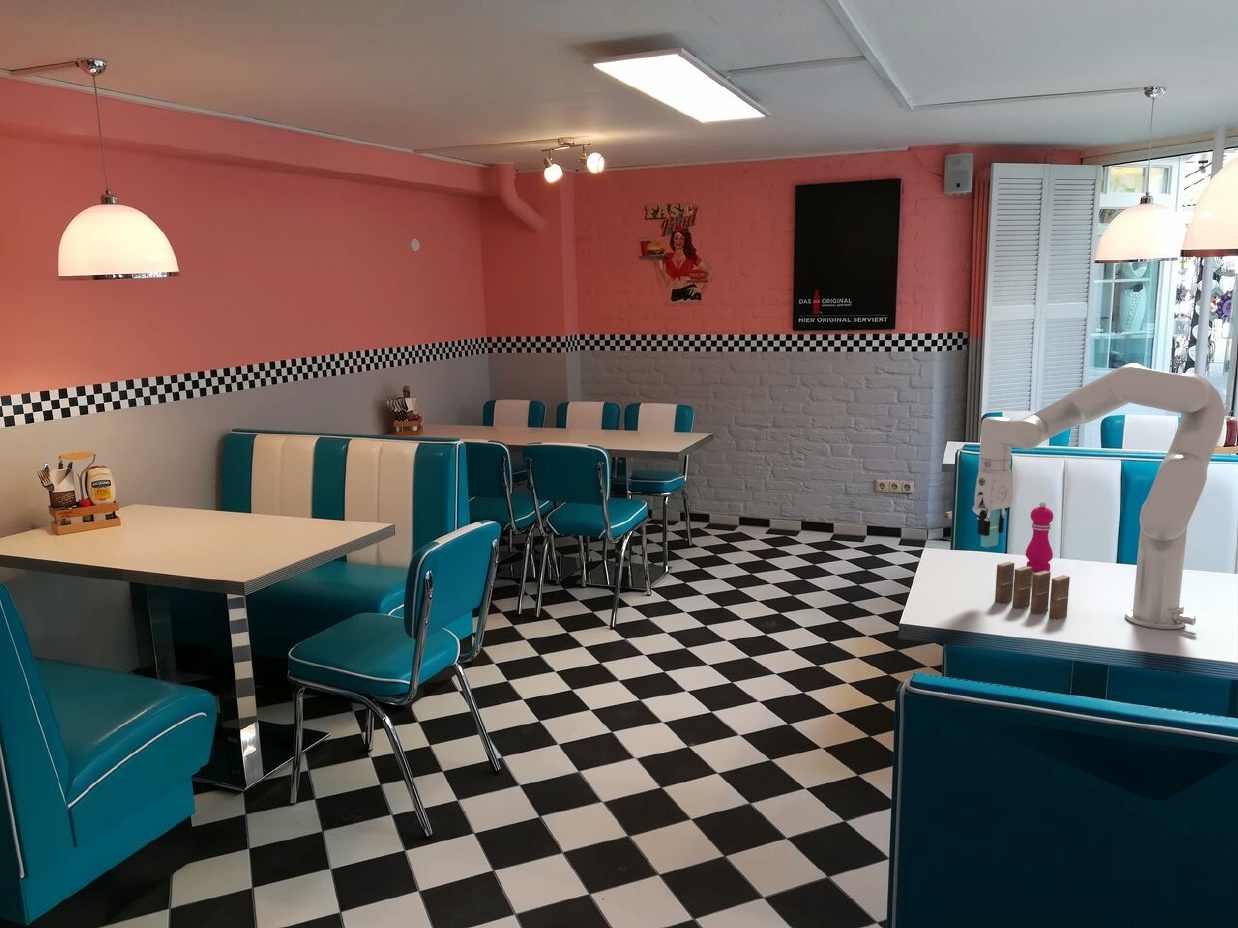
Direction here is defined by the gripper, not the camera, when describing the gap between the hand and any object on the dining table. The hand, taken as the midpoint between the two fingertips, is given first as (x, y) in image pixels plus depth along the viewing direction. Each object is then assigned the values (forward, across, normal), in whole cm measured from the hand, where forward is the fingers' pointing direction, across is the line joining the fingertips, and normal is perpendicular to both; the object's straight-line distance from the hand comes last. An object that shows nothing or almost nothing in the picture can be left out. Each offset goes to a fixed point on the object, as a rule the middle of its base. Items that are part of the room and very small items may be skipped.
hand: (990, 532), depth 238 cm
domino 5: (+17, 0, -20) cm, 26 cm away
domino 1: (+3, 0, 0) cm, 3 cm away
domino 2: (+17, 0, -5) cm, 18 cm away
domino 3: (+17, 0, -10) cm, 20 cm away
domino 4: (+17, 0, -15) cm, 23 cm away
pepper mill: (+17, +34, +7) cm, 39 cm away
